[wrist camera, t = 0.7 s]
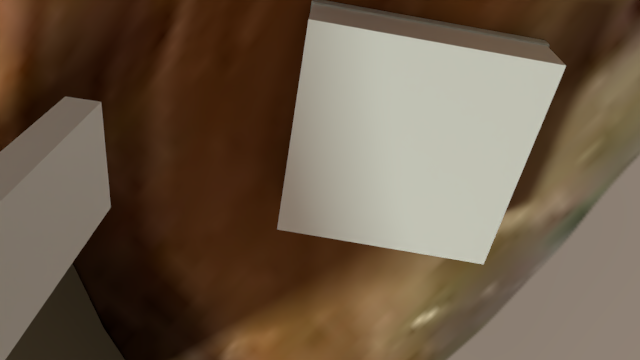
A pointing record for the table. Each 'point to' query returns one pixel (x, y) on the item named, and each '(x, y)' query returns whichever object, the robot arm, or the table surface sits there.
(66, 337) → the book
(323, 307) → the table surface
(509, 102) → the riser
